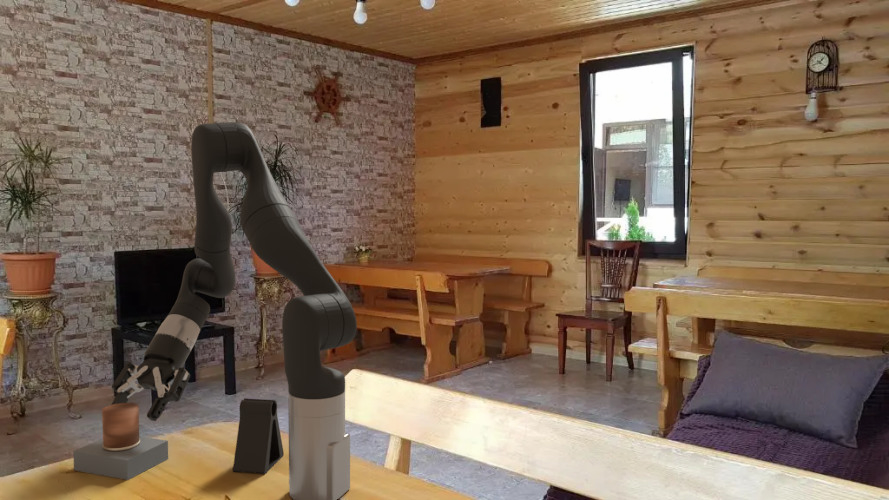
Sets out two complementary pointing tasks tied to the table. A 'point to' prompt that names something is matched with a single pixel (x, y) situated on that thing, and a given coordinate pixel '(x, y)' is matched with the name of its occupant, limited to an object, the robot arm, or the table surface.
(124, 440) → the peg
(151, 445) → the board
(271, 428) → the phone stand
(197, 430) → the table surface
